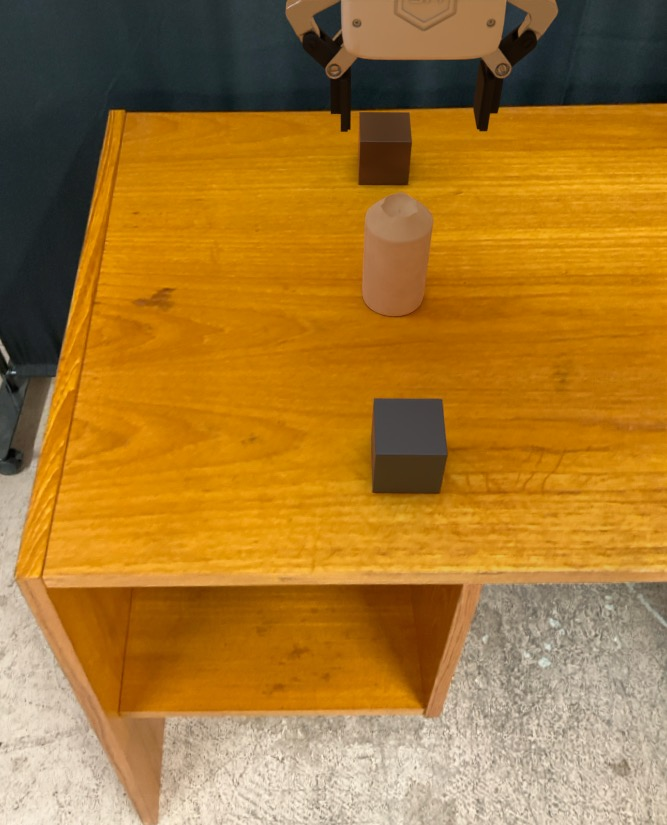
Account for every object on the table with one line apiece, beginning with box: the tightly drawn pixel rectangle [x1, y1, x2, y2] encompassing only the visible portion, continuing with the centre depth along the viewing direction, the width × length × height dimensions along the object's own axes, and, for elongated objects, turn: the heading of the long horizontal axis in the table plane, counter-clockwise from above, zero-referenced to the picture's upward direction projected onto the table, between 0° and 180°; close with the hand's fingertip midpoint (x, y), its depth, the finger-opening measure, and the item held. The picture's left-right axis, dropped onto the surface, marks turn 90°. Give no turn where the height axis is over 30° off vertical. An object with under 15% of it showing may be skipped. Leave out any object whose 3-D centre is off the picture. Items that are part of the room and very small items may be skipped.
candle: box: [361, 192, 434, 317], centre depth 69 cm, size 6×6×10 cm
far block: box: [357, 111, 413, 186], centre depth 82 cm, size 5×5×5 cm
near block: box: [370, 397, 449, 494], centre depth 60 cm, size 5×5×5 cm
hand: (412, 121), depth 59 cm, fingers open, 9 cm apart
